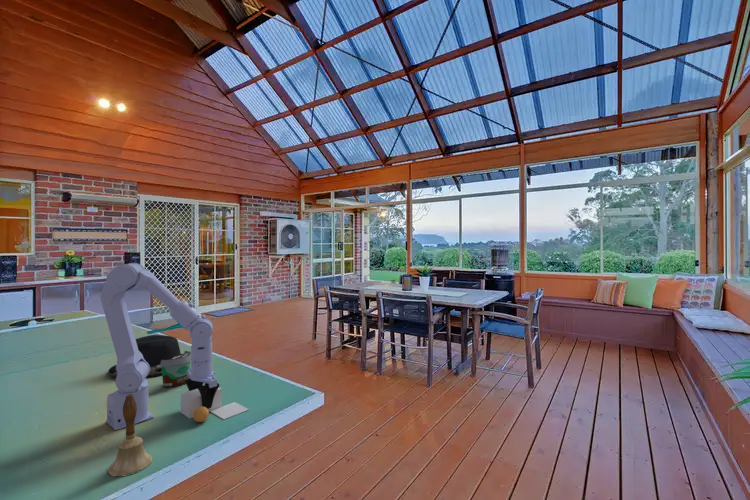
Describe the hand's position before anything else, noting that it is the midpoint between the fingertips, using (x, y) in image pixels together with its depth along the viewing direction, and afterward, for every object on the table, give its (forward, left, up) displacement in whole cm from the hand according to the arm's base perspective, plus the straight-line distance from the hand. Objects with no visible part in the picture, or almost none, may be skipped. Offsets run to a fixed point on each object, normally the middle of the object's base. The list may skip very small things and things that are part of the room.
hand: (201, 405), depth 108 cm
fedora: (+4, +52, -2) cm, 52 cm away
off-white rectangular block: (0, 0, -1) cm, 1 cm away
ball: (-4, -7, +1) cm, 8 cm away
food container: (+5, +26, -2) cm, 27 cm away
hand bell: (-23, -15, -2) cm, 28 cm away
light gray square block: (+5, -7, -1) cm, 9 cm away
